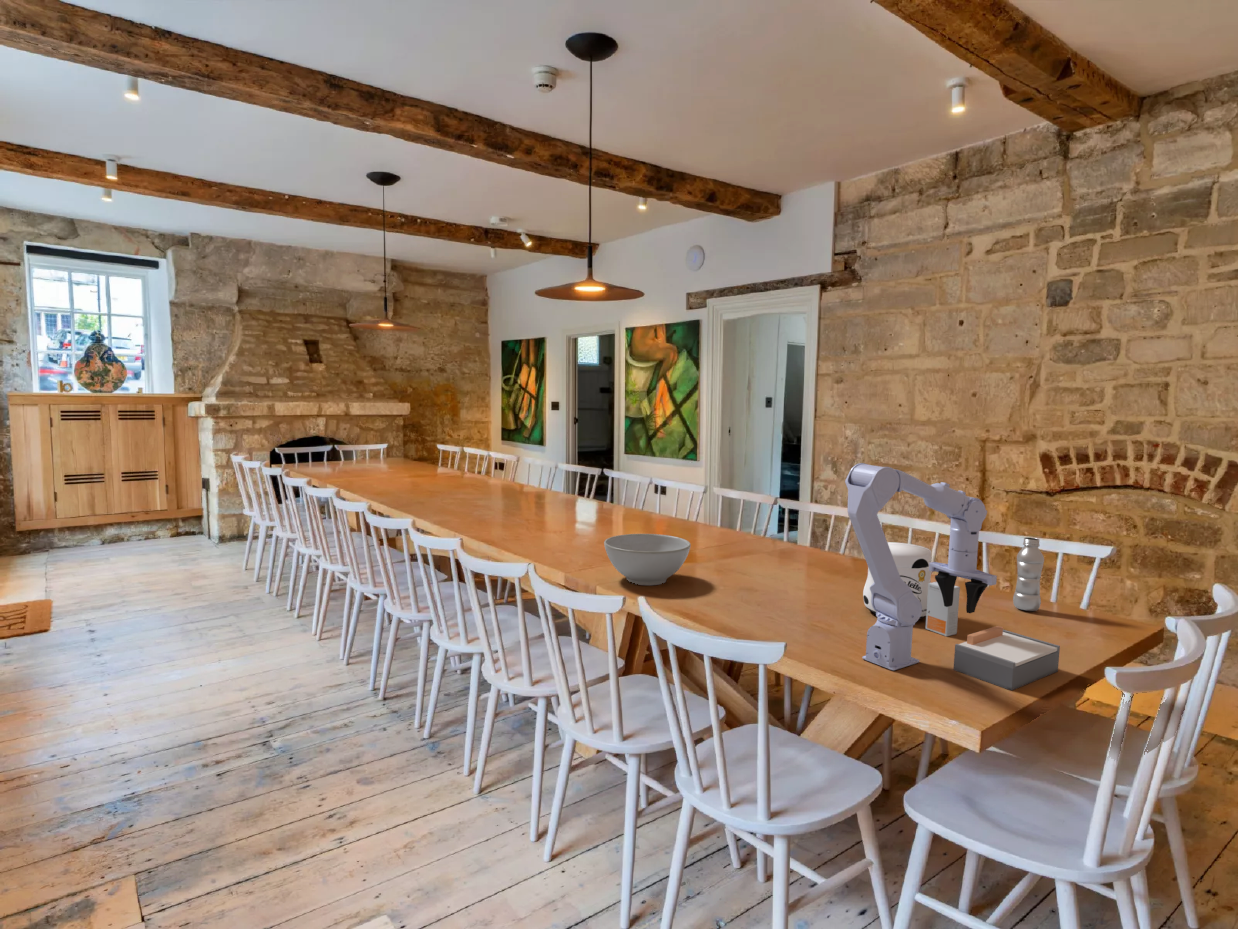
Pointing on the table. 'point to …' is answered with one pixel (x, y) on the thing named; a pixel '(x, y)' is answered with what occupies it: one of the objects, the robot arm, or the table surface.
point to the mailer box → (1004, 666)
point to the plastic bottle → (1028, 576)
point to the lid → (1007, 645)
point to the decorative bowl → (647, 556)
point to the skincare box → (941, 611)
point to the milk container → (907, 572)
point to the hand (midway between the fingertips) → (959, 609)
